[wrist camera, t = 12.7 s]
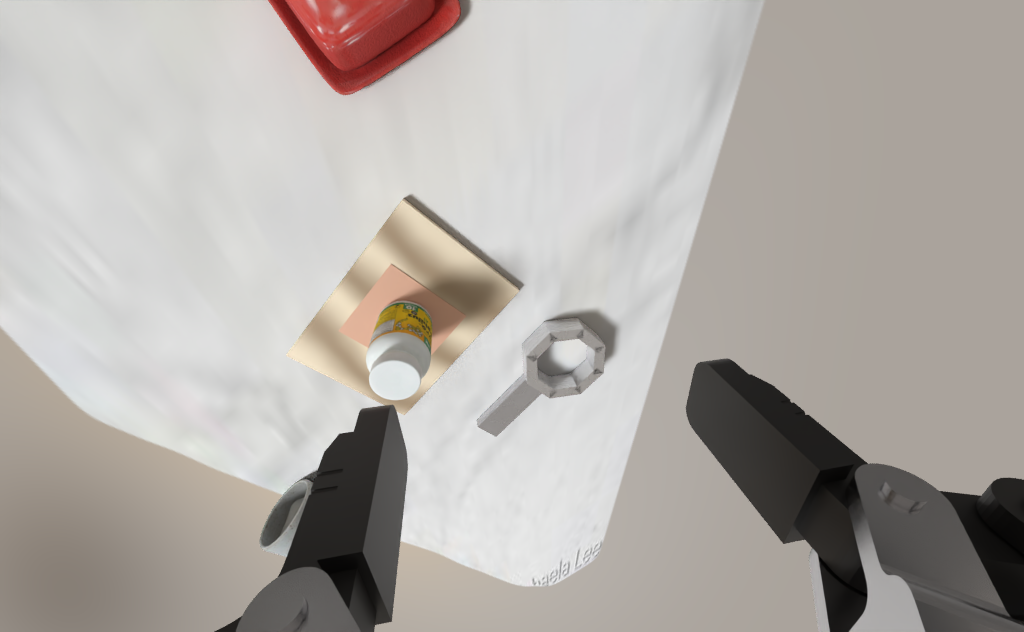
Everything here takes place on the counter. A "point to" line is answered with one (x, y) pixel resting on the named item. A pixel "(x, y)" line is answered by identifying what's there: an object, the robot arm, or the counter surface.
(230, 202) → the counter surface
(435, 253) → the birch board
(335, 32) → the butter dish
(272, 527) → the ceramic mug
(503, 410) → the ring
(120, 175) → the counter surface
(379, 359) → the supplement bottle
